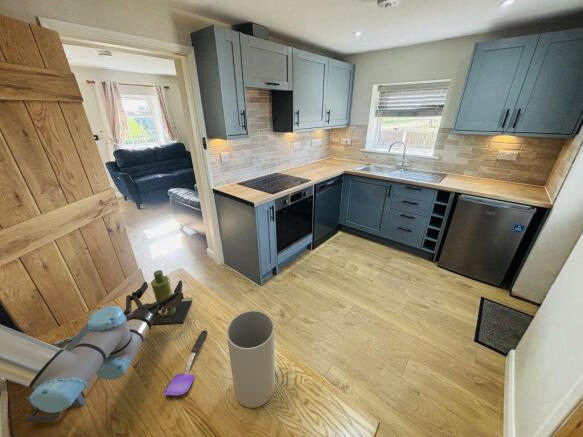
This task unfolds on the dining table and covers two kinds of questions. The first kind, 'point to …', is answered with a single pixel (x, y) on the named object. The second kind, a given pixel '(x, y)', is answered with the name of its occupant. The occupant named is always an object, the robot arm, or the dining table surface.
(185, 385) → the spatula
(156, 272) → the oil bottle
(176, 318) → the mat
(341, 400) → the dining table surface
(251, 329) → the cylinder vase
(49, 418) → the drawer
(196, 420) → the dining table surface
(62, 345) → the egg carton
